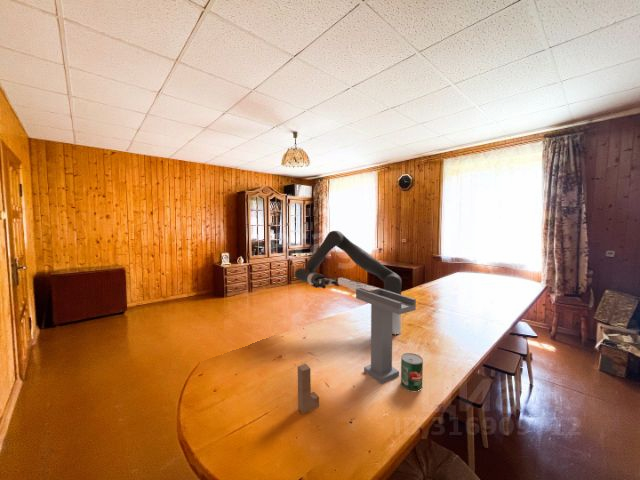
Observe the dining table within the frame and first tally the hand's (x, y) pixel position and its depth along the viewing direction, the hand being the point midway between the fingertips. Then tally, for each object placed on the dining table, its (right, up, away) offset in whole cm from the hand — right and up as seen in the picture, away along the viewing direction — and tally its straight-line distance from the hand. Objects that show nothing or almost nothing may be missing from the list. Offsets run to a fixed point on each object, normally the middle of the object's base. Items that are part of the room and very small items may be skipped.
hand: (331, 285), depth 138 cm
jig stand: (+19, -32, -29) cm, 47 cm away
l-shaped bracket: (-10, -34, -48) cm, 60 cm away
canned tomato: (+29, -33, -37) cm, 57 cm away
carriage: (+10, +1, -17) cm, 20 cm away
